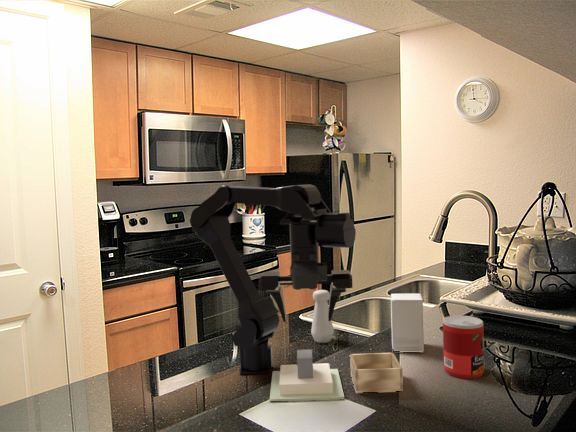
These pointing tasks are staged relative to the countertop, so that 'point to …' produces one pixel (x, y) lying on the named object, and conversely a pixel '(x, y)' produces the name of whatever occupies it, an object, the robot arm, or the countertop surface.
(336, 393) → the mat
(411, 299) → the supplement box
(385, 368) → the box
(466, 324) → the canned food
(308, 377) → the lid
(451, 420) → the countertop surface
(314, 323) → the salt shaker
